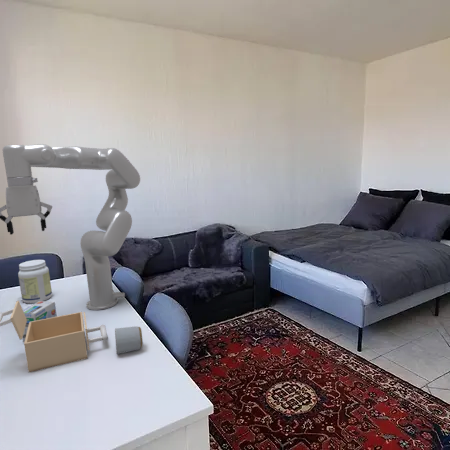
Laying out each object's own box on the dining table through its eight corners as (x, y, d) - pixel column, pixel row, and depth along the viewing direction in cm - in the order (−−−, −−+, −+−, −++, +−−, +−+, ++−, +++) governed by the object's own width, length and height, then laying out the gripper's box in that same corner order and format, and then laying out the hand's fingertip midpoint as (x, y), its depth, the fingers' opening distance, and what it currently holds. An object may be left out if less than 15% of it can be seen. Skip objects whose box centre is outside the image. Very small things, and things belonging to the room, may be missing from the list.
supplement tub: (44, 292, 171) (39, 257, 168) (57, 296, 164) (52, 261, 160) (17, 300, 161) (11, 264, 158) (30, 306, 154) (24, 268, 151)
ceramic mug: (144, 352, 112) (142, 329, 111) (117, 358, 109) (114, 335, 108) (140, 338, 122) (138, 316, 121) (115, 343, 119) (112, 321, 118)
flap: (22, 338, 103) (-3, 348, 101) (27, 319, 116) (5, 328, 114) (12, 317, 101) (-13, 326, 99) (18, 300, 114) (-4, 308, 112)
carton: (105, 331, 127) (102, 307, 126) (110, 352, 113) (107, 325, 111) (33, 347, 119) (29, 321, 117) (28, 372, 104) (23, 343, 102)
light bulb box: (39, 343, 121) (34, 313, 119) (22, 342, 123) (17, 312, 121) (59, 328, 131) (55, 300, 129) (43, 327, 133) (39, 300, 131)
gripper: (49, 180, 128) (55, 227, 131) (-8, 183, 122) (0, 233, 125) (48, 181, 121) (55, 230, 124) (-12, 184, 115) (-3, 237, 118)
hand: (27, 232), depth 125 cm, fingers open, 9 cm apart
